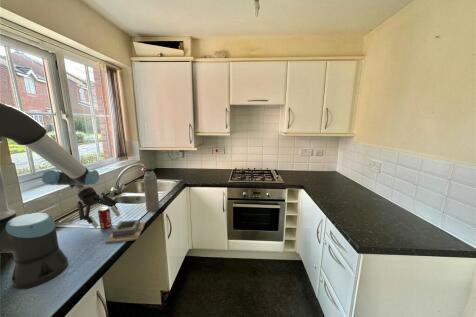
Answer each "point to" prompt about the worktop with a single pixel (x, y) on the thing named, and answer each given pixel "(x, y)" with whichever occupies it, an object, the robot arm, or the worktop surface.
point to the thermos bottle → (151, 190)
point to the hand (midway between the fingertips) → (108, 220)
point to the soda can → (104, 218)
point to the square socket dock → (126, 231)
